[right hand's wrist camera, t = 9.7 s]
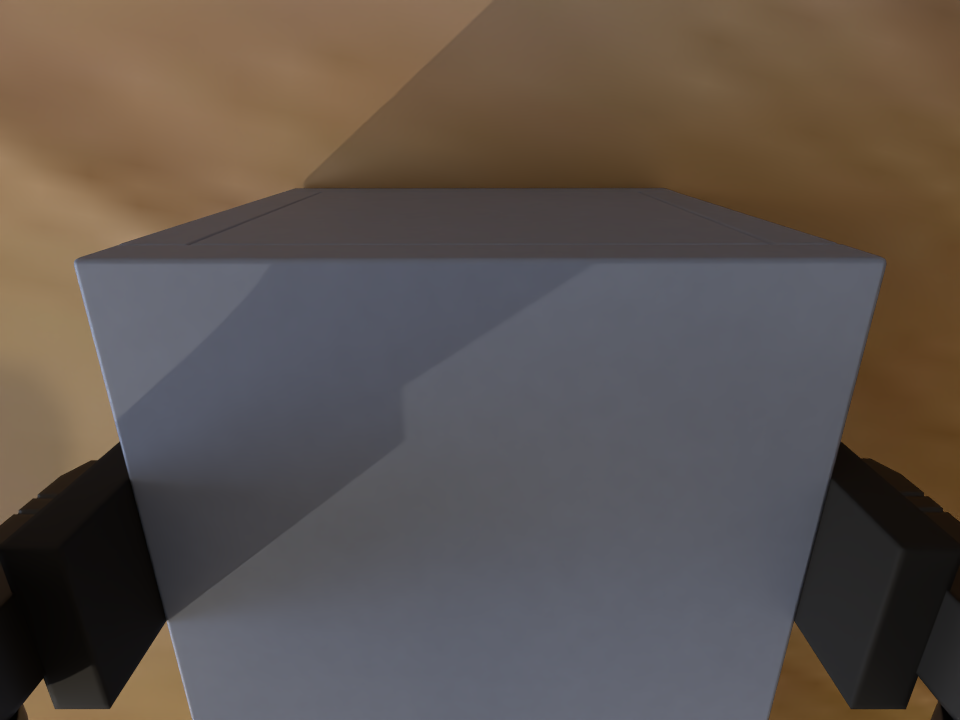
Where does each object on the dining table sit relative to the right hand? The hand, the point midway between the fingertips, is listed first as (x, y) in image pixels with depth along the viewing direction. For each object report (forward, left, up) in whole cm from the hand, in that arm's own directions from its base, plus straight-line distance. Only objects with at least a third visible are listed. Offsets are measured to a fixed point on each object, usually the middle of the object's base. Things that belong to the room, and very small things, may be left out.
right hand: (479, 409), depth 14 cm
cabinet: (+2, +4, -4) cm, 6 cm away
